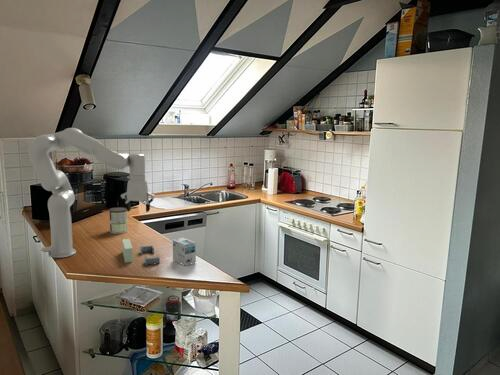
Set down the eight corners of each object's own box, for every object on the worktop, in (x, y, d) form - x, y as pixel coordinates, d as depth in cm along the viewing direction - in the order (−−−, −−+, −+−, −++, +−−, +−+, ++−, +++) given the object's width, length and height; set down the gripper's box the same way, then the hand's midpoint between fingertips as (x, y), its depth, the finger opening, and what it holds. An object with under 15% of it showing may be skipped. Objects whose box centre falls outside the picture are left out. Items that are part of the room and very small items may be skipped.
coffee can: (106, 231, 236) (105, 209, 234) (120, 228, 244) (120, 206, 242) (116, 234, 230) (116, 211, 228) (131, 231, 239) (130, 208, 236)
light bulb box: (196, 263, 188) (196, 242, 187) (185, 266, 184) (185, 244, 182) (183, 257, 196) (183, 237, 194) (172, 260, 191) (172, 239, 189)
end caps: (145, 265, 183) (145, 259, 183) (139, 252, 201) (139, 246, 201) (159, 263, 186) (159, 257, 185) (152, 250, 204) (152, 245, 203)
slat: (125, 262, 186) (124, 248, 185) (122, 252, 201) (122, 239, 200) (132, 262, 187) (132, 248, 186) (129, 251, 202) (129, 238, 201)
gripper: (117, 178, 192) (118, 212, 194) (152, 179, 191) (153, 213, 194) (123, 176, 199) (124, 209, 202) (156, 177, 199) (156, 210, 201)
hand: (138, 211), depth 198 cm, fingers open, 9 cm apart
